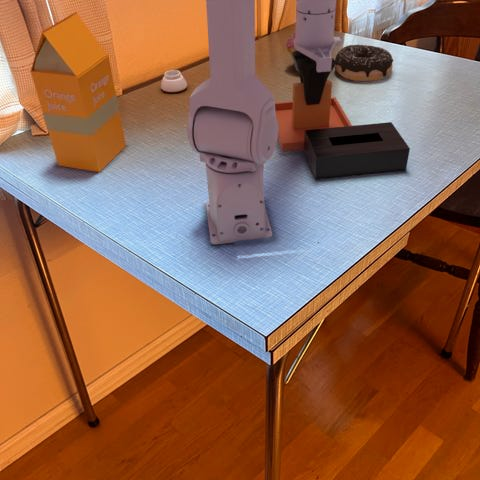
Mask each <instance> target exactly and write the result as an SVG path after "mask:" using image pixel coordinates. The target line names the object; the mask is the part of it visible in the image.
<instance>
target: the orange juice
mask: <svg viewBox="0 0 480 480" xmlns="http://www.w3.org/2000/svg"><path fill="white" fill-rule="evenodd" d="M111 67H112V66H111V63H110V57H109V53H107V51H106V50H105V49H104V47H103V46H102V45H101V43H100V42H99V41H98V39H97V38H96V36H95V35H94V34H93V33H92V31H91V30H90V28H89V27H88V26H87V25H86V23H85V22H84V20H83V19H82V18H81V16H80V15H79V14H78V11H74V12H73V13H72V14H70V15H67V16H66V17H64V18H63V19H61V20H59V21H57V22H56V23H54V24H52V25H51V26H49V27H46V28H45V29H43V30H41V34H40V38H39V41H38V45H37V47H36V52H35V55H34V58H33V61H32V65H31V69H30V73H31V79H32V82H33V84H34V88H35V91H36V95H37V98H38V101H39V105H40V108H41V112H42V116H43V120H44V123H45V126H46V130H47V132H48V136H49V139H50V142H51V145H52V149H53V152H54V155H55V159H56V162H57V165H58V166H59V167H66V168H72V169H77V170H84V171H91V172H96V173H97V172H98V173H101V171H103V170H104V169H105V167H107V165H108V164H110V162H112V161H113V159H115V158H116V157H117V156H118V155H119V154H120V153H121V152H122V151H123V150H124V149H125V148H126V147H127V143H126V137H125V134H124V128H123V122H122V118H121V114H120V106H119V101H118V96H117V95H118V94H117V92H116V88H115V83H114V78H113V71H112V68H111Z"/></svg>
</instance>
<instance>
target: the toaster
mask: <svg viewBox="0 0 480 480" xmlns="http://www.w3.org/2000/svg"><path fill="white" fill-rule="evenodd" d="M410 149H411V148H410V146H409V144H407V142H406V141H405V139H404V138H403V137H402V135H401V134H400V132H399V131H398V130H397V128H396V126H395V125H394V124H393V122H391V121H390V122H379V123H378V122H377V123H368V124H367V123H366V124H357V125H356V124H355V125H352V126H345V127H334V128H324V129H313V130H305V134H304V149H303V153H304V156H305V158H306V160H307V163H308V165H309V168H310V170H311V173H312V175H313V177H314V180H315V181H318V180H320V181H321V180H329V179H339V178H347V177H348V178H350V177H357V176H359V177H360V176H371V175H377V174H389V173H399V172H406V171H407V167H408V161H409V156H410Z"/></svg>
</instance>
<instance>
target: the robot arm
mask: <svg viewBox="0 0 480 480" xmlns="http://www.w3.org/2000/svg"><path fill="white" fill-rule="evenodd" d="M205 5H206V23H207V25H206V26H207V40H208V41H207V43H208V59H209V75H210V77H208V78H207V79H205V80H204V81H203V82H202V83H200V84H199V85H198V86H197V87H196V88H194V90H193V91H192V93H191V95H190V96H189V97H188V98H189V112H188V113H189V114H188V118H187V124H186V135H187V140H188V142H189V145H190V147H191V149H192V150H193V152H195V153H197V154H198V155H199V161H200V162H202V163H204V164H205V172H206V183H207V193H208V194H207V195H208V201H207V202H206V203H205V210H206V216H207V224H208V231H209V239H210V244H212V245H224V244H234V243H235V242H240V241H248V240H250V241H251V240H257V239H266V238H267V239H269V238H272V237H273V231H272V227H271V223H270V219H269V216H268V212H267V209H266V205H265V194H264V193H265V189H264V186H265V185H264V183H265V182H264V181H265V180H264V164H266V163H267V162H268V161H269V160H270V159H271V158H272V156H273V154H274V153H275V150H276V146H277V143H278V120H277V118H276V112H275V103H276V101H275V95H274V93H273V92H271V90H270V89H269V88H268V87H267V86H266V85H265V84H264V83H263V82H262V81H261V80H260V79H259V78H258V77H257V75H256V0H205ZM336 10H337V0H295V32H294V33H295V40H294V48H295V49H296V50H297V51H294V52H293V53H292V54H293V56H294V58H295V61H296V63H297V67H298V70H299V72H298V74H299V81H300V83H303V85H304V95H305V101H306V104H307V105H316V104H319V103H320V101H321V97H322V94H323V90H324V87H325V84H326V81H327V80H329V79H328V78H329V76H330V75H331V73H332V71H333V69H334V68H335V58H333V57H332V55H333V51H334V49H335V47H339V46H341V45H342V39H341V37H340V36H335V25H336V12H337V11H336Z"/></svg>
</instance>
